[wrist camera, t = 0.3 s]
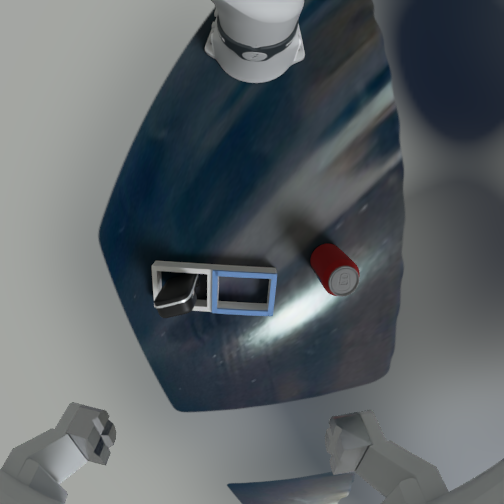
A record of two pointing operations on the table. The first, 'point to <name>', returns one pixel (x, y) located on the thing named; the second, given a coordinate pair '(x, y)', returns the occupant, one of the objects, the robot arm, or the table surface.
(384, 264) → the table surface
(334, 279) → the beverage can
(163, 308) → the battery charger
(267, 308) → the tray
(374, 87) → the table surface
